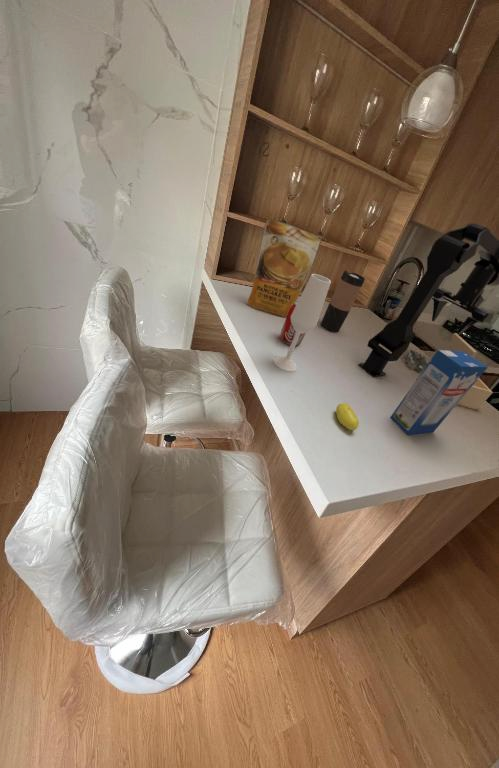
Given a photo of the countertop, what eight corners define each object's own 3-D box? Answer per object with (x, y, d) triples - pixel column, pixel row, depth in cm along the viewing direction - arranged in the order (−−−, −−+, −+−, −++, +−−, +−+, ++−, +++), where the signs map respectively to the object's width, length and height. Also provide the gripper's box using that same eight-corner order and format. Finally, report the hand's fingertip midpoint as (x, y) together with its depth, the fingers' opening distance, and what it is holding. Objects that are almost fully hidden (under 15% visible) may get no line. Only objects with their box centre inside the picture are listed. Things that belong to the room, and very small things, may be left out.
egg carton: (426, 376, 111) (433, 366, 109) (404, 367, 112) (411, 357, 110) (423, 363, 120) (429, 354, 117) (403, 355, 121) (409, 345, 118)
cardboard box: (447, 401, 99) (462, 383, 95) (431, 379, 109) (444, 362, 105) (476, 410, 100) (492, 392, 96) (458, 387, 110) (472, 371, 106)
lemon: (345, 412, 78) (352, 399, 76) (357, 436, 72) (366, 423, 70) (329, 409, 77) (336, 396, 75) (340, 433, 71) (348, 420, 69)
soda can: (275, 340, 99) (289, 303, 92) (282, 333, 104) (296, 297, 98) (296, 350, 97) (312, 313, 91) (302, 342, 103) (317, 307, 97)
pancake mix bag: (243, 298, 119) (267, 216, 104) (292, 314, 121) (323, 235, 106) (241, 305, 113) (266, 219, 98) (293, 321, 115) (326, 239, 100)
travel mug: (335, 335, 117) (362, 281, 106) (316, 325, 119) (340, 271, 108) (342, 330, 122) (367, 278, 112) (324, 321, 125) (347, 269, 114)
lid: (463, 382, 95) (460, 382, 95) (445, 361, 105) (442, 361, 105) (477, 352, 89) (474, 352, 90) (456, 333, 99) (453, 333, 99)
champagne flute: (301, 367, 89) (340, 283, 76) (287, 373, 85) (325, 284, 71) (283, 355, 92) (317, 271, 79) (268, 359, 88) (302, 272, 75)
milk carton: (407, 435, 78) (461, 366, 67) (389, 417, 82) (437, 349, 71) (433, 432, 82) (488, 367, 71) (415, 415, 87) (464, 351, 76)
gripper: (515, 298, 100) (480, 342, 108) (460, 273, 111) (432, 315, 120) (501, 296, 93) (465, 343, 102) (444, 270, 105) (416, 314, 113)
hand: (444, 328), depth 109 cm, fingers open, 9 cm apart
